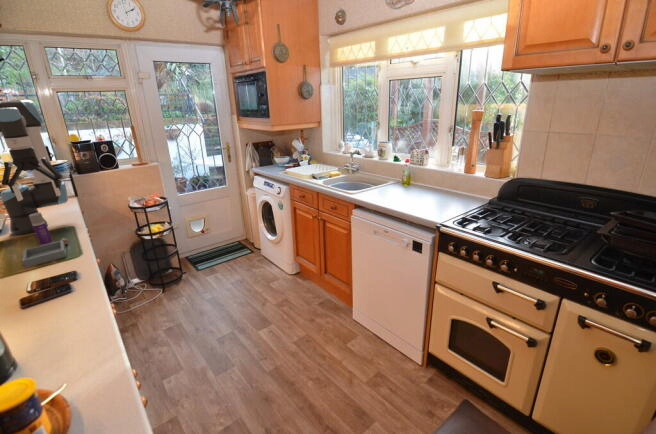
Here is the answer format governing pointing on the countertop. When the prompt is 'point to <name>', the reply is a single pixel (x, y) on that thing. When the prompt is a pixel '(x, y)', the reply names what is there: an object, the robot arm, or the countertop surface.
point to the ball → (64, 240)
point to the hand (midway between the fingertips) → (40, 197)
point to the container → (40, 228)
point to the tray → (43, 253)
